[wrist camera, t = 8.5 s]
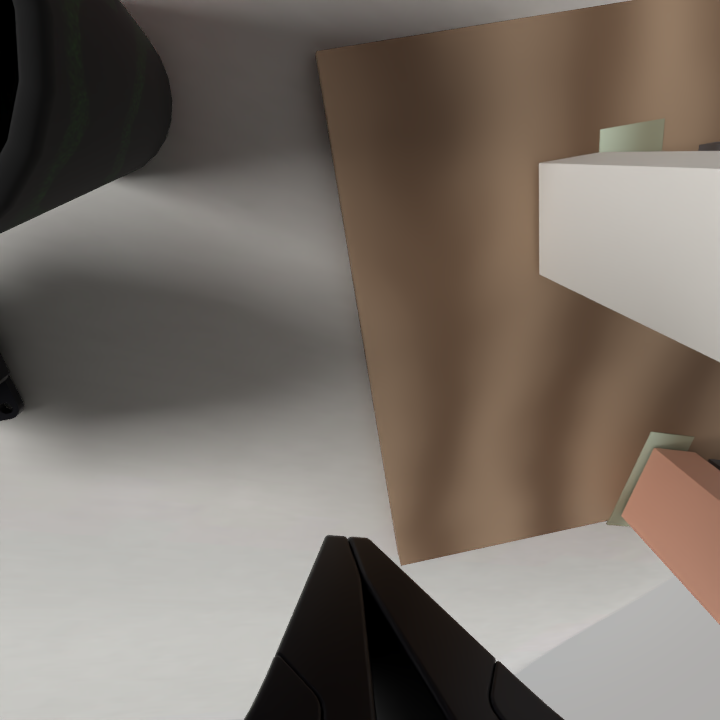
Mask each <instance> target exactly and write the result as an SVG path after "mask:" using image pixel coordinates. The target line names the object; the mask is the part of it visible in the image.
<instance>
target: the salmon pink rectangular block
mask: <svg viewBox="0 0 720 720" xmlns="http://www.w3.org/2000/svg"><path fill="white" fill-rule="evenodd" d="M621 516H622V517H623V518H624V520H625V521H626V522H627V523H628V524H629V525H630V526H631V527H632V528H633V529H634V531H635V532H636V533H637V534H638V535H639V536H640V537H641V538H642V539H643V541H644V542H645V543H646V544H647V545H648V546H649V547H650V548H651V549H652V550H653V552H654V553H655V554H656V555H657V556H658V557H659V558H660V559H661V560H662V561H663V563H664V564H665V565H666V566H667V567H668V568H669V569H670V570H671V571H672V573H673V574H674V575H675V576H676V577H677V578H678V579H679V580H680V581H681V582H682V584H683V585H684V586H685V587H686V588H687V589H688V590H689V591H690V592H691V594H692V595H693V596H694V597H695V598H696V599H697V600H698V601H699V602H700V603H701V605H702V606H703V607H704V608H705V609H706V610H707V611H708V612H709V613H710V614H711V615H712V617H713V618H714V619H715V620H716V621H717V622H718V623H719V624H720V470H718V469H717V468H716V467H714V466H713V465H712V464H710V463H709V462H707V461H706V460H705V459H703V458H702V457H701V456H699V455H698V454H697V453H695V452H688V451H679V450H670V449H661V448H654V449H653V451H652V453H651V455H650V457H649V459H648V461H647V463H646V465H645V467H644V469H643V472H642V474H641V476H640V478H639V480H638V482H637V484H636V486H635V488H634V490H633V492H632V494H631V496H630V498H629V500H628V502H627V504H626V507H625V509H624V511H623V513H622V515H621Z"/></svg>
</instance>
